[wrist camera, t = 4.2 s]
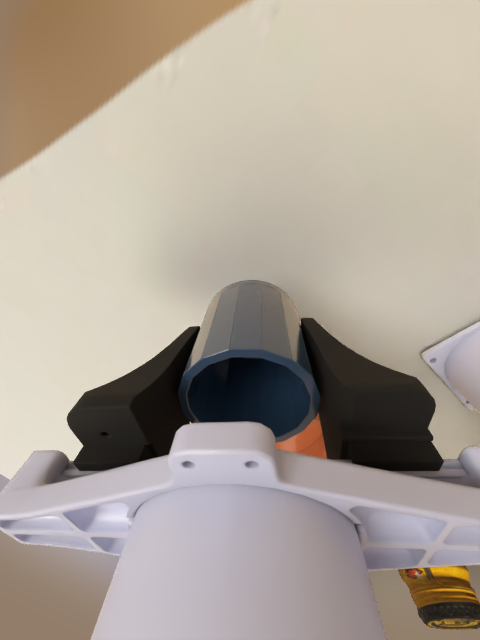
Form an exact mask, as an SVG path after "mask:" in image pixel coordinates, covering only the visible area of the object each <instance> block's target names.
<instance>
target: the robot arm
mask: <svg viewBox="0 0 480 640" xmlns="http://www.w3.org/2000/svg"><path fill="white" fill-rule="evenodd" d="M301 328H302V331H303V335H304V338H305V341H306V345H307V348H308V352H309V355H310V359H311V362H312V366H313V369H314V373H315V377H316V380H317V384H318V387H319V391H320V394H321V399H320V404H319V409H318V414H319V419H320V424H321V429H322V434H323V439H324V445H325V450H326V456H327V459H326V458H320V457H315V456H310V455H305V454H300V453H295V452H290V451H285V450H280V449H277V448H276V443H275V436H274V434H273V432H272V431H271V429H269V428H268V427H266V426H264V425H262V424H261V423H256V422H249V421H245V422H205V423H191V424H190V421H189V419H188V418H187V417H186V416H185V415H184V414H183V412H182V410H181V406H180V402H179V398H178V394H177V393H178V389H179V386H180V383H181V380H182V377H183V374H184V371H185V368H186V366H187V363H188V360H189V358H190V355H191V352H192V350H193V347H194V344H195V342H196V339H197V336H198V334H199V331H200V326H195V327H189V328H188V329H186V330H185V331H184V332H183V333H182V334H181V335H180V336H179V337H178V338H177V339H175V340H174V341H173V342H172V343H171V344H170V345H169V346H167V347H166V348H165V349H164V350H163V351H161V352H160V353H159V354H158V355H156V356H155V357H154V358H152V359H151V360H149V361H148V362H146V363H145V364H143V365H142V366H140V367H139V368H137V369H135V370H133V371H132V372H130V373H128V374H126V375H124V376H122V377H120V378H118V379H116V380H114V381H112V382H110V383H108V384H105V385H103V386H100V387H98V388H95V389H93V390H90V391H87V392H85V393H84V394H83V396H82V397H81V398H80V400H79V401H78V402H77V403H76V405H75V406H74V407H73V408H72V410H71V411H70V412H69V413H68V416H67V422H68V425H69V427H70V429H71V430H72V431H73V433H74V434H75V435H76V437H77V438H78V439H79V440H80V442H81V443H82V444H83V448H82V449H81V451H80V452H79V454H78V456H77V457H76V459H75V460H74V461H69V459H68V457H67V456H66V455H65V454H64V453H63V452H60V451H55V450H52V451H34V452H33V453H32V454H31V456H30V457H29V458H28V459H27V461H26V462H25V463H24V464H23V466H22V467H21V468H20V469H19V471H18V472H17V473H16V474H15V476H14V477H13V478H12V479H11V481H10V482H9V483H8V484H7V486H6V487H5V488H4V489H3V490H2V492H1V493H0V530H1V531H3V532H5V533H6V534H8V535H9V536H11V537H12V538H14V539H15V540H17V541H18V542H20V543H22V544H34V545H48V546H57V547H65V548H72V549H79V550H85V551H92V552H98V553H104V554H110V555H116V556H120V559H119V562H118V565H117V567H116V570H115V573H114V576H113V579H112V581H111V584H110V587H109V590H108V593H107V596H106V598H105V601H104V604H103V606H102V610H101V612H100V615H99V618H98V620H97V623H96V626H95V629H94V632H93V634H92V637H91V640H387V639H386V636H385V632H384V628H383V625H382V621H381V617H380V614H379V610H378V606H377V602H376V599H375V595H374V592H373V588H372V585H371V581H370V577H369V573H368V571H377V570H394V569H410V568H427V567H443V566H463V565H480V446H469V447H467V448H464V449H463V450H462V451H461V453H460V455H459V458H458V459H442V457H441V456H440V454H439V453H438V451H437V450H436V448H435V446H434V445H433V443H432V442H431V441H433V436H432V434H431V433H430V431H429V430H428V426H429V424H430V421H431V419H432V417H433V414H434V412H435V407H436V404H435V400H434V399H433V397H432V396H431V395H430V393H429V392H428V391H427V389H426V388H425V387H424V386H423V384H422V383H421V382H420V381H419V380H418V379H417V378H416V377H413V376H409V375H406V374H403V373H400V372H397V371H394V370H392V369H389V368H386V367H384V366H381V365H379V364H377V363H375V362H372V361H370V360H368V359H366V358H364V357H363V356H361V355H359V354H357V353H355V352H354V351H352V350H351V349H349V348H347V347H346V346H344V345H343V344H342V343H340V342H339V341H338V340H336V339H335V338H334V337H333V336H331V335H330V334H329V333H328V332H327V331H326V330H325V329H324V328H322V327H321V326H320V325H319V324H318V323H317V322H316V321H315V320H314V319H313V318H302V319H301ZM421 357H422V358H423V359H424V361H425V362H426V363H427V364H428V365H429V366H430V367H431V368H432V369H433V371H434V372H435V373H436V374H437V375H438V376H439V377H440V378H441V379H442V381H443V382H444V383H445V384H446V385H447V386H448V387H449V388H450V389H451V391H452V392H453V393H454V394H455V395H456V396H457V397H458V398H459V399H460V401H461V402H462V403H463V404H464V405H465V406H466V407H467V408H468V409H469V410H474V409H476V410H477V411H478V412H479V413H480V321H479V322H477V323H475V324H473V325H471V326H470V327H468V328H466V329H464V330H462V331H460V332H459V333H457V334H455V335H453V336H451V337H450V338H448V339H446V340H444V341H442V342H441V343H439V344H437V345H435V346H433V347H432V348H430V349H428V350H426V351H424V352H423V353H422V355H421ZM432 358H433V359H432Z"/></svg>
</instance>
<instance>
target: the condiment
mask: <svg viewBox="0 0 480 640" xmlns="http://www.w3.org/2000/svg"><path fill="white" fill-rule="evenodd" d="M398 571H399V574H400V576H401V578H402V579H403V580H404V582H406V584H407V586H408V587H409V589H410V593H411V596H412V598H413V601H414V602H415V604H416V606H417V609H418V615H419V617H420V618H421V619H422V621H423V622H424V623H425V624H426V625H427V626H429V627H432V628H437V629H451V630H452V629H456V630H459V629H460V630H462V629H477V628H480V603H479V601H478V599H477V598H476V593H475V591H474V589H472V587H471V586H470V584H469V582H470V575H469V571H468V569H467V568H466V566H465V565H463V566H443V567H427V568H410V569H398Z"/></svg>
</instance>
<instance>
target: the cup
mask: <svg viewBox="0 0 480 640" xmlns="http://www.w3.org/2000/svg"><path fill="white" fill-rule="evenodd" d="M177 394H178V398H179V402H180V406H181V410H182V412H183V414H184V415H185V416H186V417H187V418H188V419H189V421H190V422H191V423H205V422H245V421H249V422H256V423H261V424H262V425H264V426H266V427H268V428H269V429H271V431H272V432H273V434H274V436H275V443H278V442H283V441H286V440H288V439H290V438H291V437H293V436H295V435H297V434H299V433H301V432H303V431H304V430H305V429H306V428H307V427H308V426H309V425H310V423H311V422H312V421H313V420H314V419H315V418H316V416H317V414H318V409H319V404H320V399H321V394H320V391H319V387H318V384H317V380H316V377H315V373H314V369H313V366H312V362H311V359H310V355H309V352H308V348H307V345H306V341H305V338H304V335H303V331H302V328H301V323H300V320H299V317H298V314H297V311H296V308H295V306H294V303H293V302H292V300H291V299H290V297H289V296H288V295H287V294H286V293H285V292H284V291H282V290H281V289H280V288H278V287H276V286H274V285H272V284H270V283H267V282H263V281H257V280H246V281H240V282H236V283H233V284H231V285H229V286H227V287H225V288H224V289H222V290H221V291H220V292H219V293H217V294H216V296H215V297H214V298H213V300H212V301H211V303H210V305H209V307H208V309H207V312H206V315H205V317H204V320H203V323H202V326H201V328H200V331H199V334H198V336H197V339H196V342H195V344H194V347H193V350H192V352H191V355H190V358H189V360H188V363H187V366H186V368H185V371H184V374H183V377H182V380H181V383H180V386H179V389H178V393H177Z"/></svg>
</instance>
